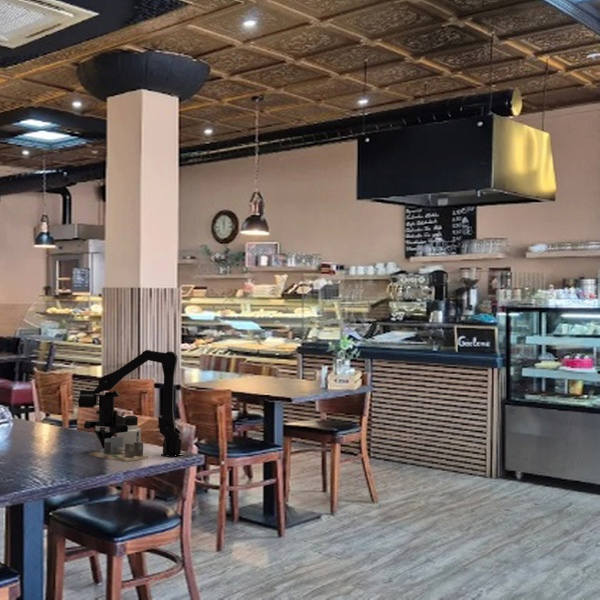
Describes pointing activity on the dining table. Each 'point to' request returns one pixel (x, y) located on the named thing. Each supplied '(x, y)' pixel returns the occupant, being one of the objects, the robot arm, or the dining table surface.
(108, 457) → the gauge board
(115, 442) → the grey rectangular block
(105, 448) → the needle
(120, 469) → the dining table surface
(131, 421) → the container
